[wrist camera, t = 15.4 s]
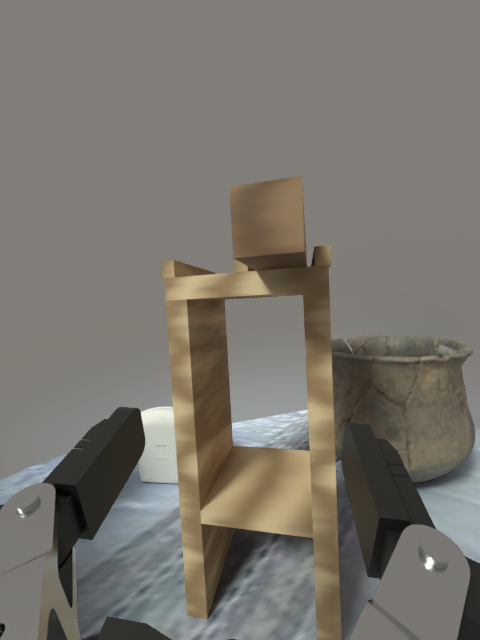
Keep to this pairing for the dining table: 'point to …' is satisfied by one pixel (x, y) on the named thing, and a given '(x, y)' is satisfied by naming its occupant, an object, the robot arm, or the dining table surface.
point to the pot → (406, 398)
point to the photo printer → (159, 446)
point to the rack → (249, 462)
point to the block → (269, 224)
